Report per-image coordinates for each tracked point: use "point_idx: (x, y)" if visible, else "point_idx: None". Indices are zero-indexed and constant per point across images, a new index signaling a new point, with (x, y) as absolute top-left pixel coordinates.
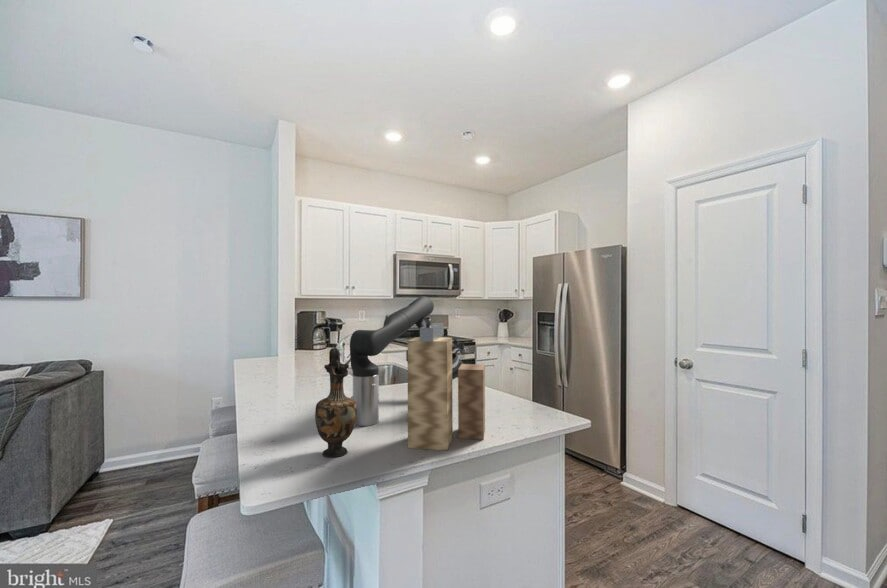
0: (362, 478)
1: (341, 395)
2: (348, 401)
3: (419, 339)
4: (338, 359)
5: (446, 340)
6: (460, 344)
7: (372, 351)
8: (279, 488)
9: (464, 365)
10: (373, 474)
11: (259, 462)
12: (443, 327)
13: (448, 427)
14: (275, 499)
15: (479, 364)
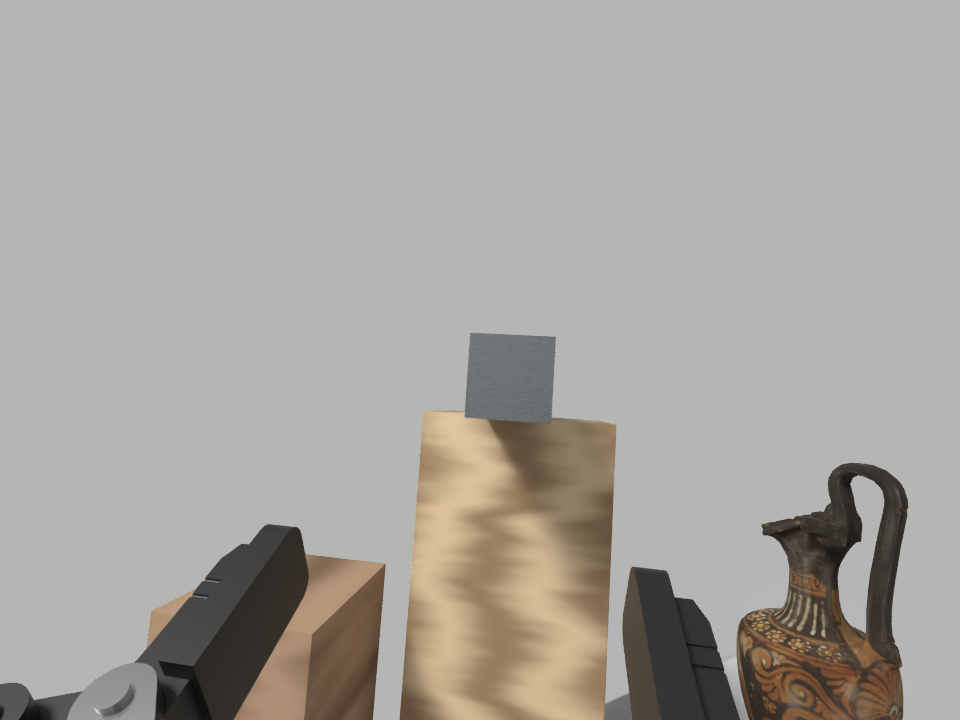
0: (623, 697)
1: (785, 603)
2: (761, 622)
3: (566, 419)
4: (831, 499)
5: (456, 411)
6: (72, 699)
7: None
8: None
9: (314, 605)
10: (608, 707)
11: None
12: (470, 362)
13: None
14: (726, 661)
15: None
